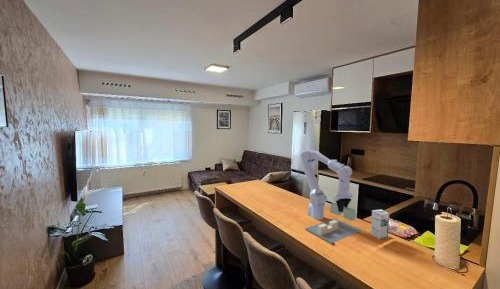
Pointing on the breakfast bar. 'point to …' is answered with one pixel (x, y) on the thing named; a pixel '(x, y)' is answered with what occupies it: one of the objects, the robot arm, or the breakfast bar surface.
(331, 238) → the slotted base
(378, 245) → the breakfast bar surface
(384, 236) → the syrup box
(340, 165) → the robot arm
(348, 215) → the cross plate
